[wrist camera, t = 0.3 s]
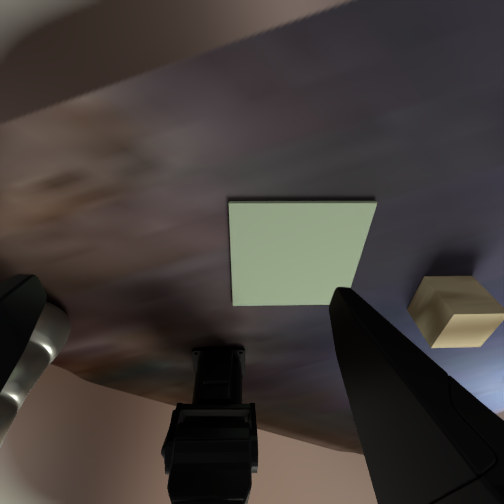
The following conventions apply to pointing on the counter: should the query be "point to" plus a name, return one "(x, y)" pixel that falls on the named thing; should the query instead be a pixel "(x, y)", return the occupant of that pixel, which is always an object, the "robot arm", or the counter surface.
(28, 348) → the silver ribbed metal bottle
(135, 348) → the counter surface
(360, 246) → the sage mat
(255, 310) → the counter surface
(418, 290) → the beech block
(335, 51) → the counter surface
